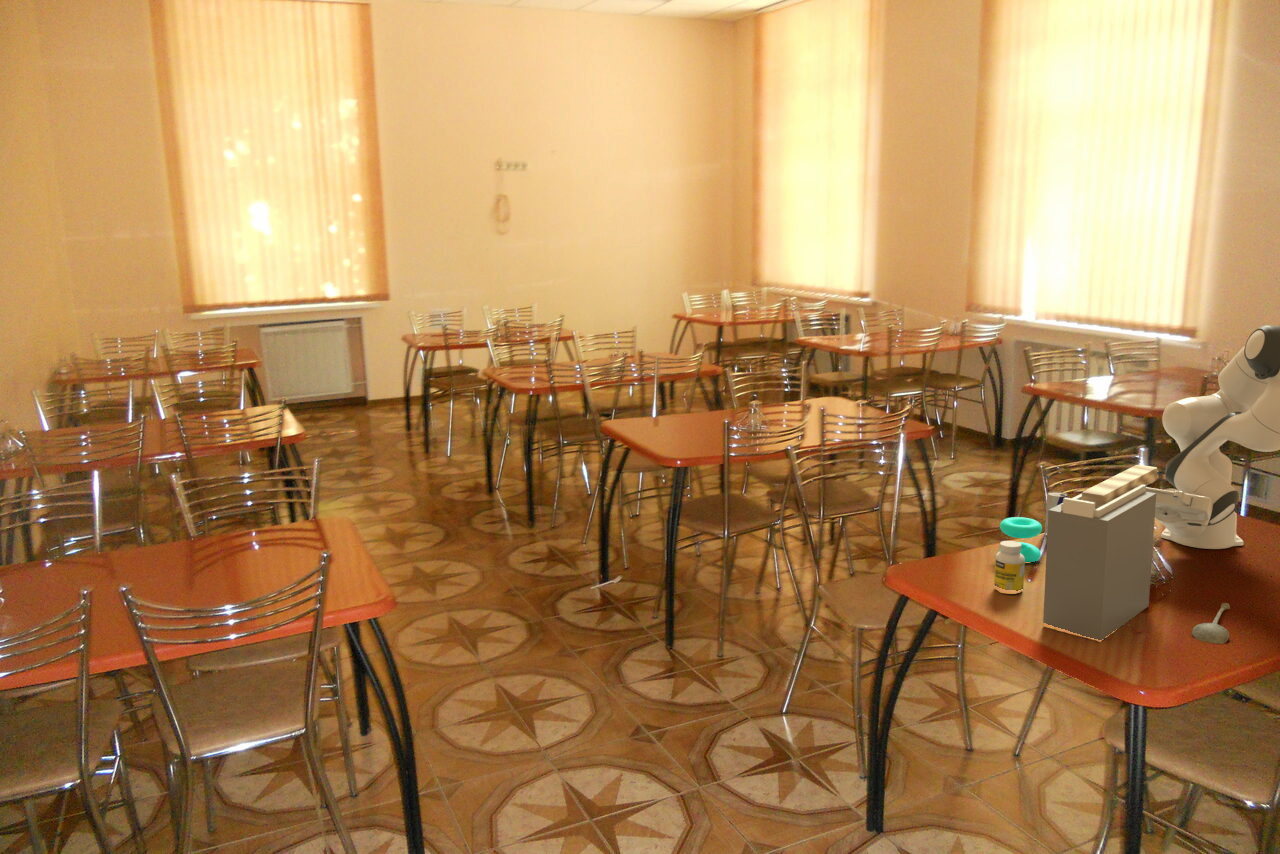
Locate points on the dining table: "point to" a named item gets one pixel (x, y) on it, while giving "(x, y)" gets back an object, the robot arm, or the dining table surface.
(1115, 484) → the wooden bar
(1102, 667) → the dining table surface
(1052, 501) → the energy drink
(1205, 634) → the soupspoon
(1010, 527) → the donuts
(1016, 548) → the pill bottle
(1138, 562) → the gray open box
